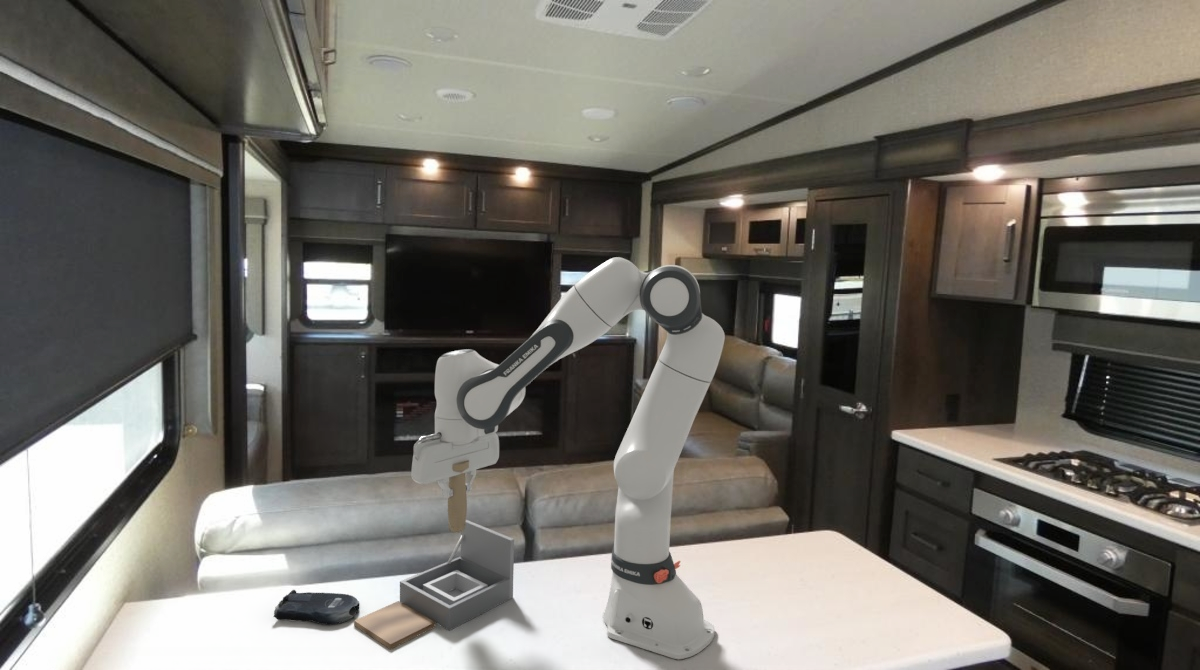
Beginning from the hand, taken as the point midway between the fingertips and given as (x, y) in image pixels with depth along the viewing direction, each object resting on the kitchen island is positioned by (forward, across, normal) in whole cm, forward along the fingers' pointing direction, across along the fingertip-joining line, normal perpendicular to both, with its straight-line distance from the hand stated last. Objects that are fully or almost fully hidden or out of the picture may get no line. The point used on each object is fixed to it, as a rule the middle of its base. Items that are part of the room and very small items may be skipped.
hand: (457, 494), depth 136 cm
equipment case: (+23, 0, 0) cm, 23 cm away
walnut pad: (+23, -14, +1) cm, 27 cm away
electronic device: (+24, -21, +16) cm, 36 cm away
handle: (+8, 0, 0) cm, 8 cm away
